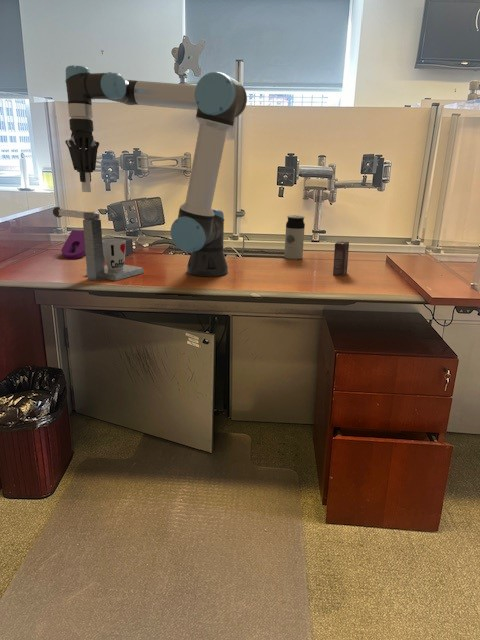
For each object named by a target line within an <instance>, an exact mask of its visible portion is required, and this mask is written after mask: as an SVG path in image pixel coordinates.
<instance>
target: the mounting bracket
mask: <svg viewBox="0 0 480 640" xmlns="http://www.w3.org/2000/svg"><path fill="white" fill-rule="evenodd" d="M61 254H62V257H63V258H64V259H66V258H68V259H67V260H77V258H78V259H80V258H82V257H84V256H86V252H85V240H84V229H83V230H81V229H78V230H77V229H76V230H75V229H72V230H71V232H70V233H69V236H68V237H67V239H66V240H65V242H64V244H63V246H62V247H61Z"/></svg>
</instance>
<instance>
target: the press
mask: <svg viewBox="0 0 480 640" xmlns="http://www.w3.org/2000/svg"><path fill="white" fill-rule="evenodd" d="M82 225H83V226H82V228H83V230H84V240H85V252H86V253H85V261H86V262H85V263H86V269H85V274H86V276H87V280H90V281H93V282H94V281H96V282H97V281H101V280H110V281H114V282H115V281H120V280H124V279H127V278H131V277H133V276H134V277H135V276H138V275H141V274H144V267H140V266H135V265H130V264H124V265H123V269H120V270H109V269H108V267H107V265H106V264H105V258H104V254H103V244H102V240H103V233H102V231H103V230H102V219H97V220H85V219H82Z"/></svg>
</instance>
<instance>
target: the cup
mask: <svg viewBox="0 0 480 640" xmlns="http://www.w3.org/2000/svg"><path fill="white" fill-rule="evenodd" d="M102 244H103V258H104V263H105V265H107V267H108V269H109V270H120V269H123V265H125V259H126V247H127V246H126V239H123V238H122V239H121V238H107V239H102Z"/></svg>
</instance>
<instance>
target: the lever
mask: <svg viewBox="0 0 480 640" xmlns="http://www.w3.org/2000/svg"><path fill="white" fill-rule="evenodd" d="M52 215H53V216H54V217H55V218H62V217H65V218H66V217H67V218H76V219H83V220H97V219H98V220H101V218H100V212H98V211H82V210H73V209H65V208H64V209H63V208H62V207H60V206H55V207H54V208H53V209H52Z"/></svg>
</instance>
